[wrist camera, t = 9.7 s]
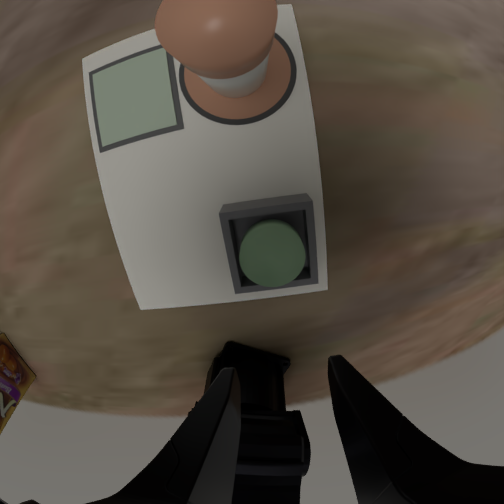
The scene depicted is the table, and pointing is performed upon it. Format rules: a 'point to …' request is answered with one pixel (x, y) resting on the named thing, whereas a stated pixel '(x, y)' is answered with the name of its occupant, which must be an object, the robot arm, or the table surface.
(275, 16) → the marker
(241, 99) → the picture board
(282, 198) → the button housing
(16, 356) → the candy box
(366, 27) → the table surface
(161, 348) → the table surface
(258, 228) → the button
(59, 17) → the table surface
